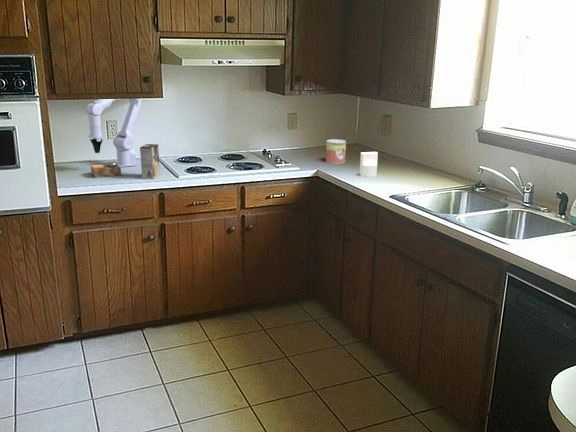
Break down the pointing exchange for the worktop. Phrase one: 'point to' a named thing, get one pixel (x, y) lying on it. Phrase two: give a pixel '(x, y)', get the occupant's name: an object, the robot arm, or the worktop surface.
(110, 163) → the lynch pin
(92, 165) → the block
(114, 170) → the hitch block
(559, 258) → the worktop surface
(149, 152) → the coffee box
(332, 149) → the canned food
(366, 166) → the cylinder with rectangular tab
